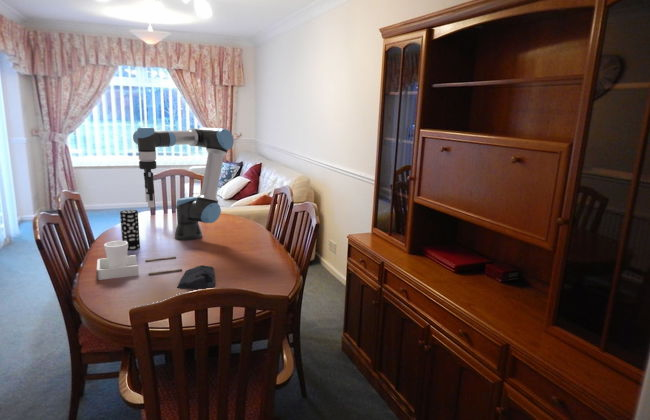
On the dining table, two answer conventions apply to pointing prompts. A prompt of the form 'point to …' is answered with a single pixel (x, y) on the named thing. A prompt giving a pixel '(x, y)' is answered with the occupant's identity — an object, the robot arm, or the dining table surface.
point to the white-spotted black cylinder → (130, 229)
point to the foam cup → (116, 253)
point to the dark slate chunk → (198, 278)
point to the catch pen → (116, 269)
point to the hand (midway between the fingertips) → (150, 204)
